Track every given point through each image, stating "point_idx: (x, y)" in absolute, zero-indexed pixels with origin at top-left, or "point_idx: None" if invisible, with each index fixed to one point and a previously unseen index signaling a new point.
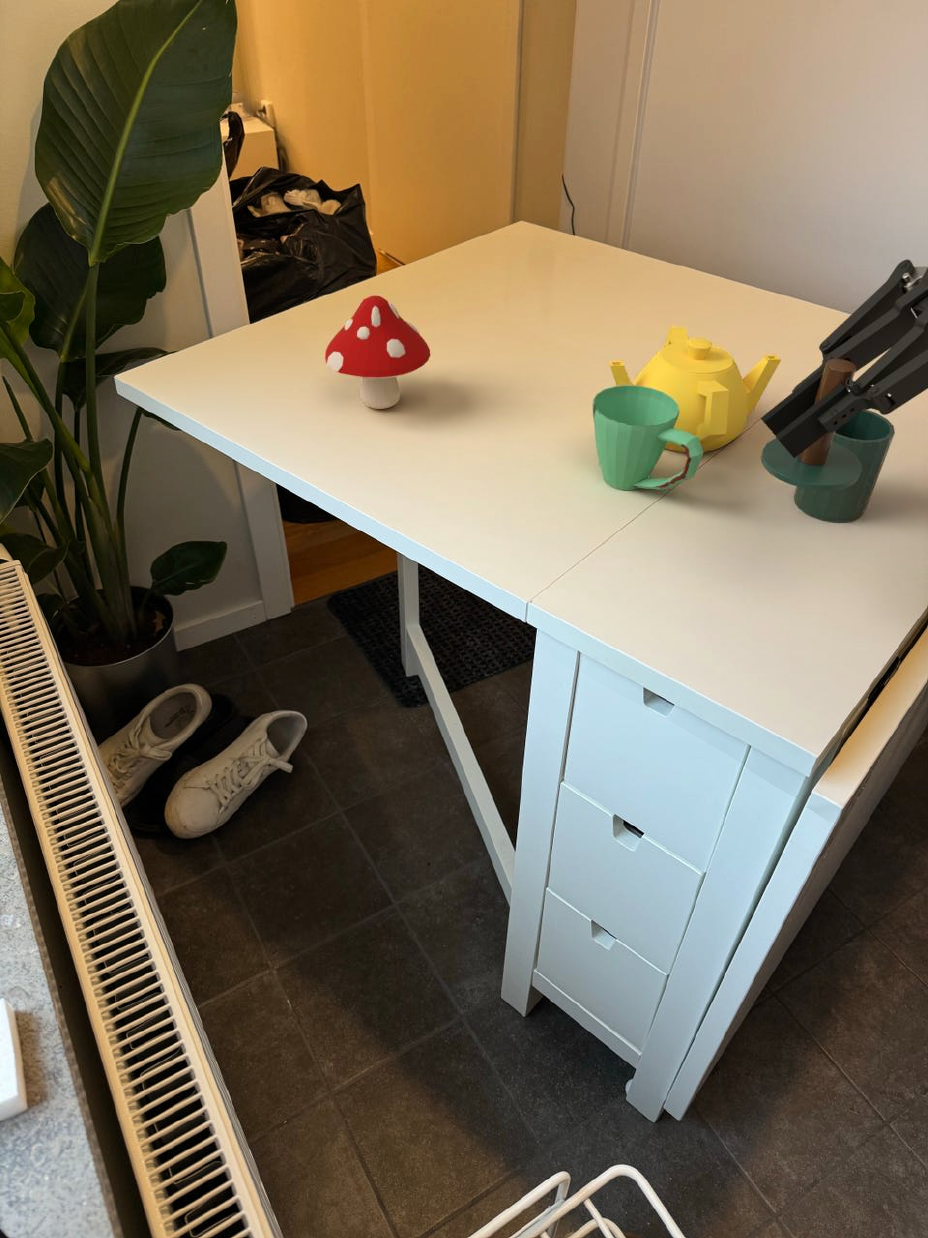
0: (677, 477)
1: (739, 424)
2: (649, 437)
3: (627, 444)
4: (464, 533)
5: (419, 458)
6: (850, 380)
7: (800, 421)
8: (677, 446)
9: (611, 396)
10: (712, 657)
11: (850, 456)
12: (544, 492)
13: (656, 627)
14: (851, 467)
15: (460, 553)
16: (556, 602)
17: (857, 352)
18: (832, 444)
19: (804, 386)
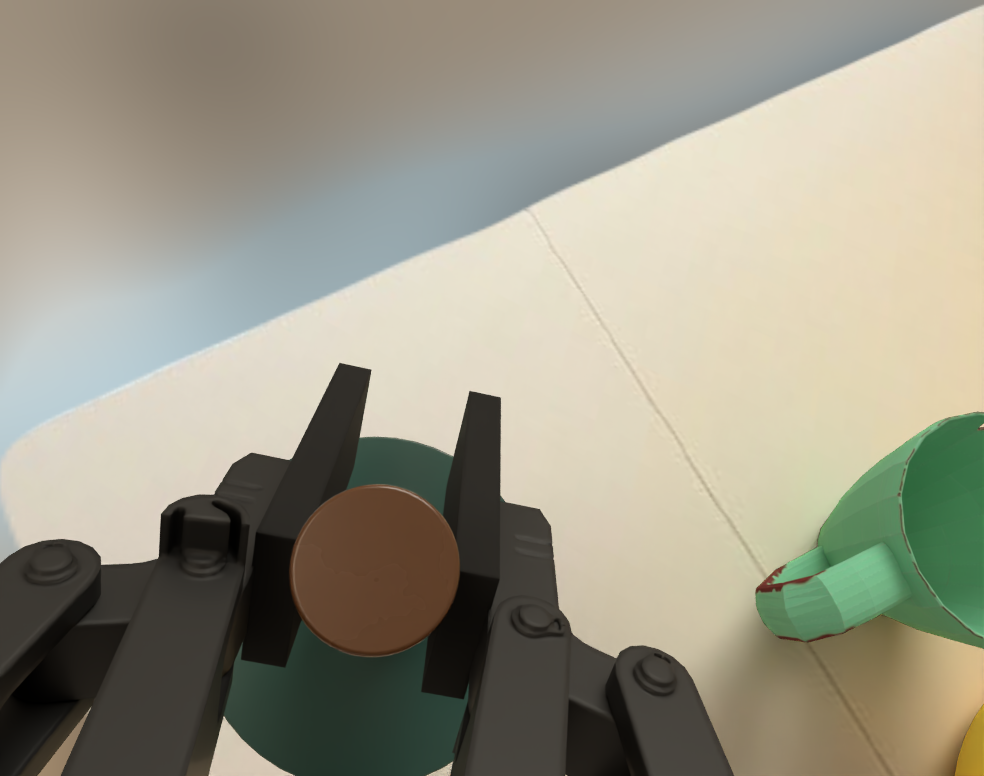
0: (767, 582)
1: None
2: (878, 518)
3: (874, 475)
4: (733, 189)
5: (974, 209)
6: (217, 514)
7: (326, 408)
8: (964, 738)
9: None
10: (274, 421)
11: (335, 759)
12: (836, 372)
13: (388, 369)
14: (270, 710)
15: (680, 162)
16: (510, 244)
17: (462, 761)
18: (433, 747)
19: (477, 495)
